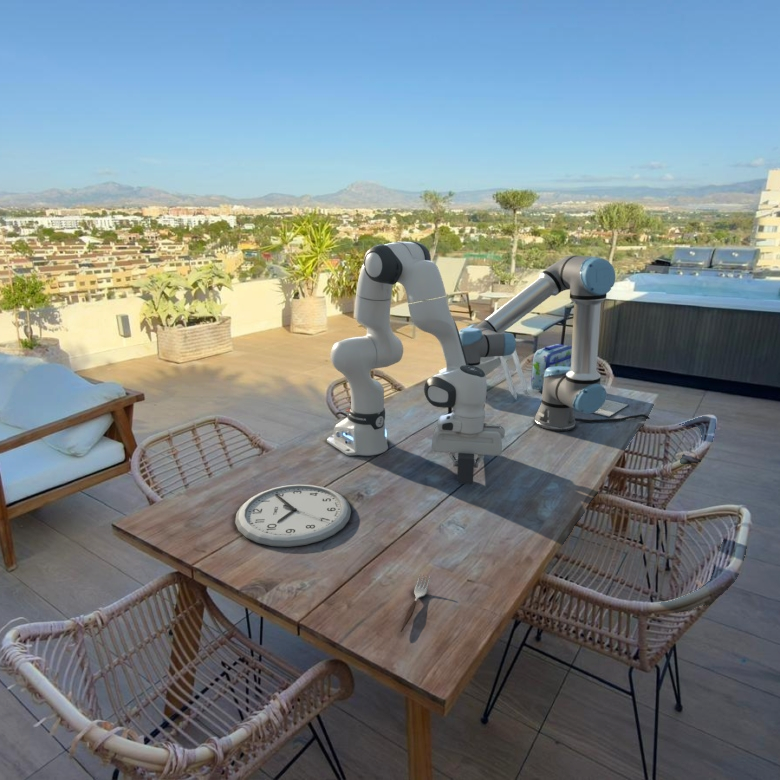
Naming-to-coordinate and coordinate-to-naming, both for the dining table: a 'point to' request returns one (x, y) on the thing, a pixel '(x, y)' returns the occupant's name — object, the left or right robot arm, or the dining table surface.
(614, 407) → the invitation card
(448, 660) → the dining table surface
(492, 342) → the right robot arm
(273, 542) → the wall clock
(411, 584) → the dining table surface
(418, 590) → the fork
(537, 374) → the lunch box
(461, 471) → the beam
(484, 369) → the white plastic object
